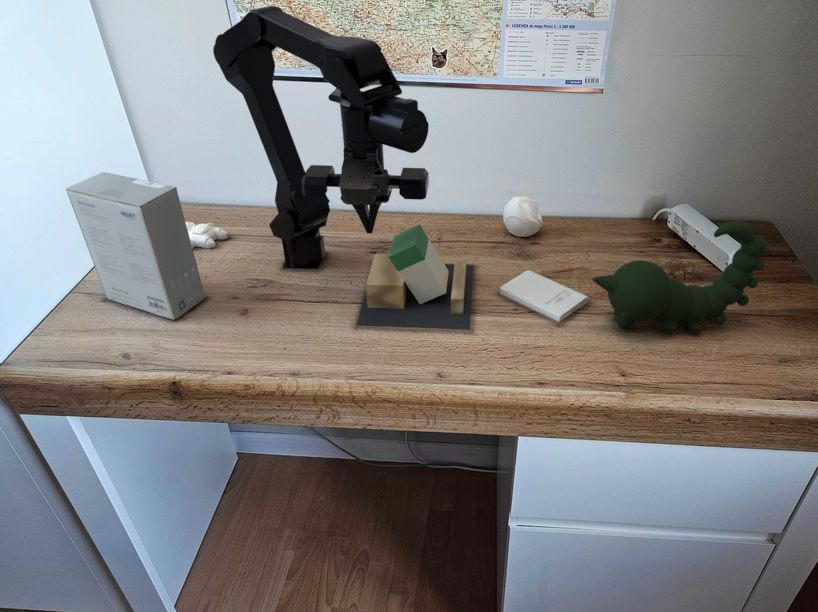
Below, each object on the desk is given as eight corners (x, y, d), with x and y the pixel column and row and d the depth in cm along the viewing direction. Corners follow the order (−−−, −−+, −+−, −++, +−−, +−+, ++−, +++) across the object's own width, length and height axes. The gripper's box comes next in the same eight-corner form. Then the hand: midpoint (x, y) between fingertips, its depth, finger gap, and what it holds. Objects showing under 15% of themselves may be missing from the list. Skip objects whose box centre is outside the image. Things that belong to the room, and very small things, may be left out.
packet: (391, 303, 111) (387, 244, 104) (396, 281, 116) (393, 223, 109) (446, 305, 110) (445, 245, 103) (448, 282, 116) (448, 224, 109)
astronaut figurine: (204, 255, 124) (200, 240, 122) (154, 242, 128) (150, 228, 126) (234, 235, 130) (231, 220, 128) (186, 223, 134) (182, 209, 132)
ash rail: (450, 314, 108) (450, 298, 106) (454, 275, 118) (454, 260, 116) (463, 314, 108) (463, 299, 106) (466, 276, 118) (466, 261, 116)
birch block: (367, 307, 110) (365, 284, 107) (376, 276, 118) (374, 253, 115) (404, 309, 109) (402, 285, 107) (410, 277, 117) (409, 254, 114)
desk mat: (356, 327, 106) (356, 325, 106) (375, 263, 122) (374, 261, 122) (469, 331, 105) (469, 329, 105) (473, 266, 121) (473, 264, 121)
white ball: (542, 244, 128) (546, 207, 123) (503, 244, 128) (505, 206, 123) (538, 225, 134) (542, 189, 129) (501, 225, 134) (503, 188, 129)
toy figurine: (718, 313, 112) (574, 307, 109) (760, 209, 101) (601, 200, 98) (742, 346, 105) (588, 341, 102) (790, 239, 93) (618, 230, 91)
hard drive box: (208, 298, 112) (179, 187, 100) (175, 322, 107) (140, 207, 95) (138, 278, 118) (103, 169, 105) (104, 299, 112) (62, 187, 100)
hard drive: (528, 277, 118) (587, 303, 112) (498, 295, 113) (558, 324, 107) (529, 269, 117) (588, 295, 111) (499, 287, 112) (559, 315, 106)
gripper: (285, 155, 91) (300, 255, 101) (421, 159, 90) (423, 259, 100) (304, 127, 100) (316, 221, 110) (428, 130, 99) (429, 225, 109)
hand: (369, 232), depth 107 cm, fingers closed
